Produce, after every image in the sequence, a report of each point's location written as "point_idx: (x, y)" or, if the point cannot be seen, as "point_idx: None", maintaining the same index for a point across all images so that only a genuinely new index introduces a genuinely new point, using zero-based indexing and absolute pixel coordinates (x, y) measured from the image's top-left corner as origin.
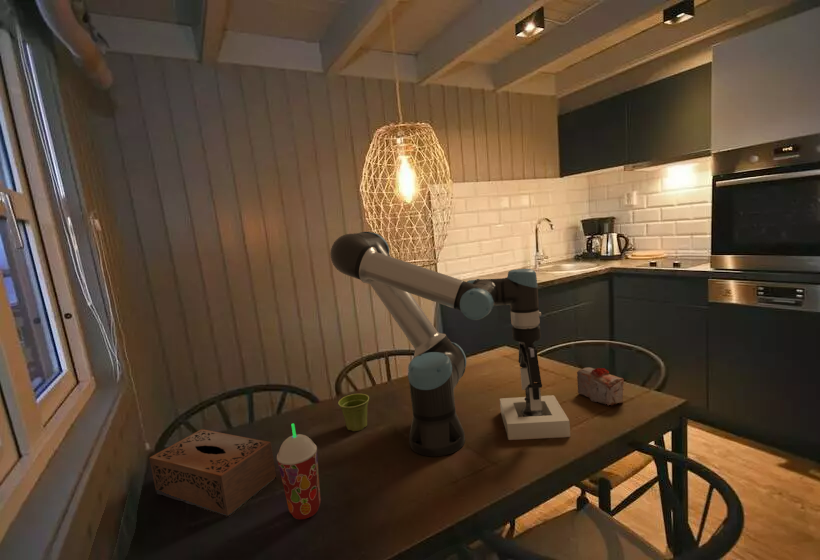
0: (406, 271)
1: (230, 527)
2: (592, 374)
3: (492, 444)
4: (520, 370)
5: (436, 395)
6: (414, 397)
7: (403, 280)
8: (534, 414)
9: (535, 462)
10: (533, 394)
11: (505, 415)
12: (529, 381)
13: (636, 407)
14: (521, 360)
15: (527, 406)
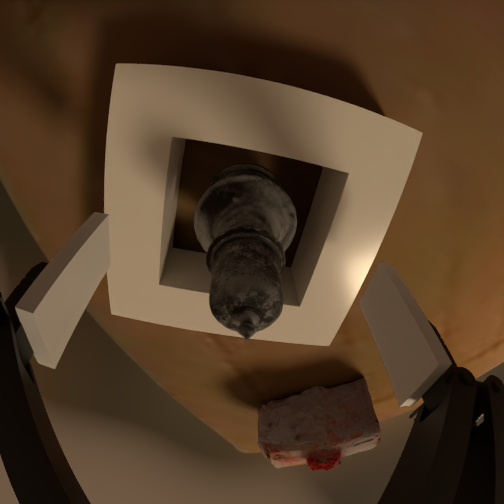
0: None
1: None
2: (330, 449)
3: (132, 5)
4: (441, 350)
5: None
6: None
7: None
8: (205, 224)
9: (16, 133)
10: (24, 284)
11: (211, 75)
12: (11, 347)
13: (247, 422)
14: (435, 450)
15: (234, 218)
